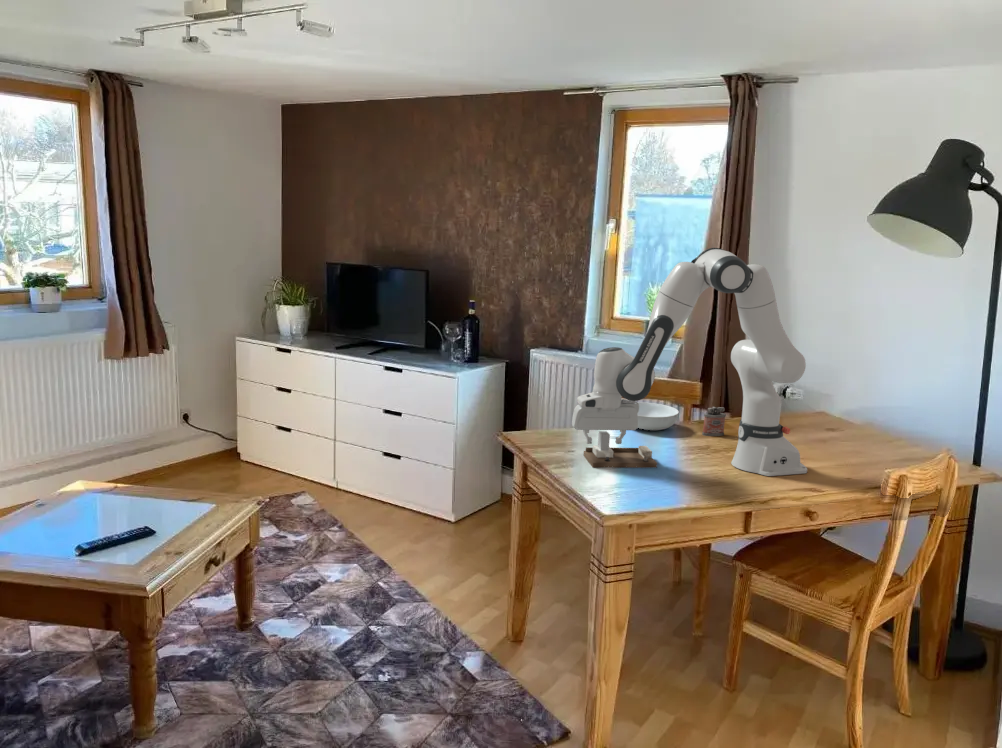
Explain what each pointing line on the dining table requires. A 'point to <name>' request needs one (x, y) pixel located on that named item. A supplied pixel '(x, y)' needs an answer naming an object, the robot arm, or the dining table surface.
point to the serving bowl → (656, 416)
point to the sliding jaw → (603, 446)
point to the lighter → (714, 422)
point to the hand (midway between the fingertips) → (603, 443)
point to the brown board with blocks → (623, 458)
